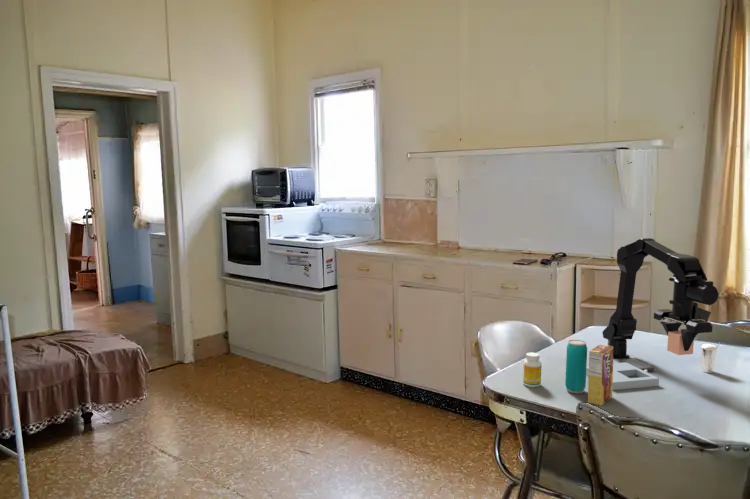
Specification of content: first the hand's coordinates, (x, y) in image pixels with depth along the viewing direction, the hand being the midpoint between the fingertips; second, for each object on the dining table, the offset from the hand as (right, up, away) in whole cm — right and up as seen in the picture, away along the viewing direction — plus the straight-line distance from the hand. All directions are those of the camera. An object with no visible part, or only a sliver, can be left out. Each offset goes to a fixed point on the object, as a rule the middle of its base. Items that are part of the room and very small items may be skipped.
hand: (680, 348), depth 186 cm
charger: (0, -1, 0) cm, 1 cm away
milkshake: (+16, -10, +13) cm, 23 cm away
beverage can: (-33, -12, -4) cm, 36 cm away
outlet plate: (-16, -11, +6) cm, 20 cm away
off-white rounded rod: (-7, -10, +10) cm, 16 cm away
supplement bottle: (-45, -12, +1) cm, 46 cm away
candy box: (-29, -13, -11) cm, 33 cm away
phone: (-6, -9, +17) cm, 20 cm away
